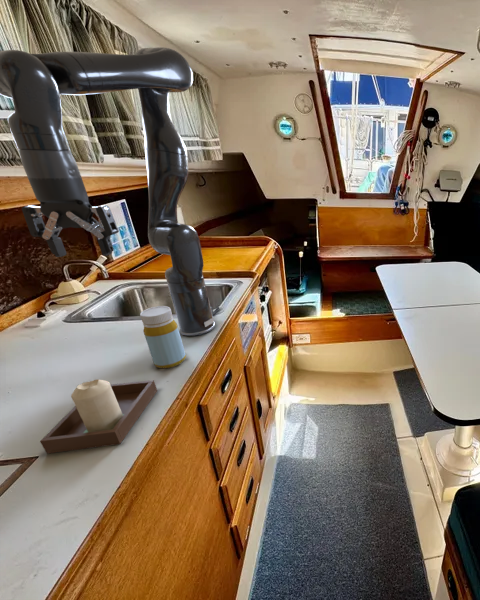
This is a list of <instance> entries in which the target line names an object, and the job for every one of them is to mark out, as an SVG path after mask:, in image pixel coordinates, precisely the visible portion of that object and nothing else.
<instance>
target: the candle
mask: <svg viewBox="0 0 480 600" xmlns="http://www.w3.org/2000/svg"><path fill="white" fill-rule="evenodd" d="M110 384H111V383H110V382H109V381H108V380H105V379H96V378H95V379H93V380H89V381H84V382H82V383H80V384H78V385H77V386H76V388H75V389H74V390H73V391H72V393H71V395H70V397H71V400H72V401H73V404H74V407H75V406H76V408H77V410H78V412H79V414H80V416H81V418H82V420H83V422H84V424H85V427H86V429H87V430H88V432H96V431H104V430H111V429H113V428H114V427H115V426H116V424H117V423H118V422H119V420H120V419H121V418H122V417H123V414H122V412H121V409H120V407H119V404H118V402H117V400H116V397H115V395H114V392H113V390H112V387H111V385H110Z"/></svg>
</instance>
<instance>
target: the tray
mask: <svg viewBox="0 0 480 600" xmlns="http://www.w3.org/2000/svg"><path fill="white" fill-rule="evenodd" d="M110 385H111V387H112V390H113V392H114V395H115V397H116V400H117V402H118V404H119V407H120V409H121V412H122V414H124V415H123V417H122V418H121V419H120V420H119V422H118V423H117V424H116V426H115V427H114V428H113V429H112V430H104V431H96V432H88V433H84V431H85V430H86V427H85V424H84V422H83V420H82V418H81V416H80V414H79V412H78V410H77V408H76V406H75V405H74V407H72V408H71V409H70V410H69V412H67V413H66V414H65V415H64V417H62V419H60V421H58V423H57V424H56V425H54V426H53V428H51V429H50V430H49V432H47V434H46V435H45V436H44V437H43V438H41V440H39V443H40V444H41V446H42V448H43V449H44V452H45V454H55V453H56V454H57V453H62V452H70V451H77V450H85V449H92V448H100V447H107V446H108V447H109V446H115V445H121V443H122V442H123V441H124V440H125V438H126V436H128V434H129V432H130V431H131V429H132V428H133V427H134V425H135V424H136V422H137V421H138V420H139V418H140V416H142V414H143V413H144V411H145V409H147V407H148V405H149V404H150V403H151V401H152V400H153V398H154V397H155V396H156V394H157V393H158V388H157V385H156V383H155V380H154V379H152V380H142V381H132V382H121V383H110Z"/></svg>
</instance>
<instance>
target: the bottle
mask: <svg viewBox="0 0 480 600" xmlns="http://www.w3.org/2000/svg"><path fill="white" fill-rule="evenodd" d="M139 317H140V319H141V322H142V325H143V334H144V339H145V340H146V341H145V342H146V343H147V347H148V350H149V353H150V356H151V358H152V362H153V364H154V366H155V367H156V368H159V369H170V368H174V367H177V366H178V365H181V364H182V363H183V362H184V361H185V359H186V357H187V355H186V351H185V347H184V344H183V341H182V340H183V339H182V337H181V332H180V328H179V327H178V326H179V325H178V322H176V321H175V319H174V316H173V312H172V309H171V307H170V306H167V305H157V306H152V307H149V308H146V309H144V310H142V311H141V312H140V314H139Z"/></svg>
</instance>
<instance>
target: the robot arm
mask: <svg viewBox="0 0 480 600" xmlns="http://www.w3.org/2000/svg"><path fill="white" fill-rule="evenodd" d="M193 81H194V75H193V70H192V68H191V65H190V63H189V62H188V60H187V59H186V57H184V55H183V54H182V53H180V52H178V51H177V50H175V49H172V48H170V47H164V46H163V47H162V46H159V47H156V46H155V47H143V48H139V49H138V50H137V51H136V52H135V54H124V53H123V54H121V53H106V52H105V53H104V52H103V53H102V52H92V51H91V52H90V51H89V52H88V51H51V52H50V51H49V52H45V53H29V52H27V51H23V50H19V49H5V50H0V96H3V97H6V98H9V99H12V102H13V108H14V112H13V113H11V114H10V115H9V116H8V117H7V124H8V128H9V130H10V133H11V136H12V138H13V140H14V143H15V145H16V148H17V149H18V153H19V157H20V161H21V164H22V168H23V170H24V172H25V175H26V177H27V180H28V183H29V184H30V187H31V189H32V192H33V194H34V197H35V199H36V200H37V201H38V202H39V203H40V206H38V205H35V204H31V205H26V206H22V207H21V212H22V213H23V217H24V219H25V223H26V226H27V228H28V230H29V234H30V235H31V237H33V238H37V237H38V238H42V239H44V240H45V241H46V243H47V245H48V248H49V250H50V252H51V253H52V255H54V256H55V257H56V258H63V257H64V256H67V251H66V248H65V245H64V243H63V240H62V238H61V237H59V235H60V233H61V231H62V230H63V229H67V228H68V229H69V228H74V229H81V228H83V229H84V230H86V231H87V232H90V234H93V236H95V237H96V238H97V239H96V241H97V243H98V246H99V248H100V251H101V254H102V256H110V255H112V254H113V252H114V246H113V242H112V240H111V236H113V235H116V234H118V233H119V232H120V231H119V228H118V225H117V223H116V220H115V217H114V216H113V213H112V210H111V208H110V206H109V205H107V204H105V205H104V204H103V205H100V206H92V205H91V203H90V201H89V194H88V192H87V189H86V186H85V184H84V181H83V178H82V175H81V172H80V169H79V166H78V163H77V161H76V159H75V157H74V156H73V154H72V151H71V148H70V146H69V142H68V140H67V137H66V133H65V131H64V129H63V113H62V102H61V101H62V100H61V95H69V96H72V95H73V96H84V95H85V96H86V95H96V94H97V95H98V94H107V93H115V92H120V91H129V90H137V92H138V97H139V102H140V107H141V118H142V126H143V136H144V137H143V138H144V154H145V166H146V173H147V175H146V176H147V190H148V221H147V222H148V223H147V237H148V242H149V244H150V245H149V246H151V248H152V250H154V251H155V252H156V253H159V254H161V255H164V256H165V255H166V256H170V260H171V265H172V266H171V267H168V268H167V269H166V270H165V271H164V277H165V280H166V283H167V288H168V291H169V294H170V298H171V302H172V305H173V309H174V312H175V315H176V319H177V324H178V326H179V327H178V328H179V333H180V335H182V336H186V337H195V336H202V335H204V334H207V333H210V332H211V331H212V330H214V329H215V328H216V323H215V320H214V315H216V314H217V313H218V311H219V310H220V306H218V307H216V308H215V310H214V308H213V306H212V305H211V303H210V299H209V293H208V290H207V285H206V281H205V277H204V271H203V269H204V265H205V264H204V263H205V262H204V257H203V251H202V250H203V249H202V245H201V240H200V236H199V235H198V232H197V230H195V229H194V227H192V226H191V225H189V224H186V223H179V222H178V221H179V220H178V204H179V200H180V197H181V195H182V193H183V191H184V189H185V187H186V184H187V181H188V178H189V159H188V157H189V156H188V155H189V154H188V150H187V146H186V144H185V141H184V140H183V137H182V136H181V134H180V132H179V130H178V129H177V127H176V125H175V123H174V121H173V118H172V115H171V111H170V110H171V108H170V93H184V92H186V91H188V90H189V89H190V88H191V87H192V86H193ZM94 214H95V216H96V217H97V218H99V221H100V222H99V221H98V220H97V219H96V218H94V217H93V216H94ZM43 216H45V217H46V218H48V220H47V222H46V224H45V221H44V219H43Z"/></svg>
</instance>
